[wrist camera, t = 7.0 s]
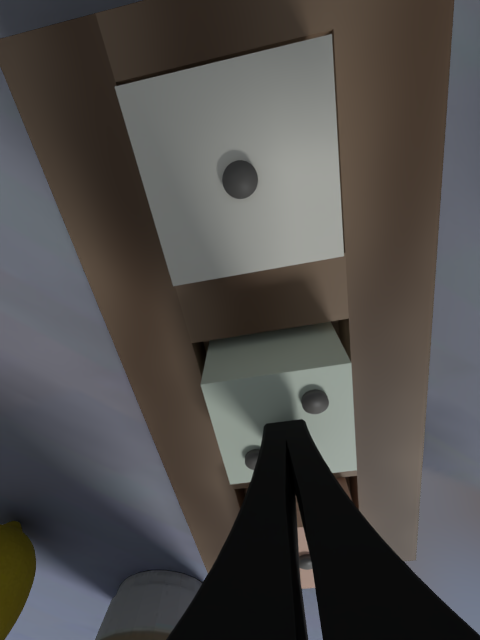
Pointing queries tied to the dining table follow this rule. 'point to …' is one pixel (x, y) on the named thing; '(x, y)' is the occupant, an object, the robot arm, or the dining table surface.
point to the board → (268, 285)
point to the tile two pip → (280, 394)
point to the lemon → (14, 574)
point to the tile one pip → (241, 161)
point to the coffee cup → (148, 606)
